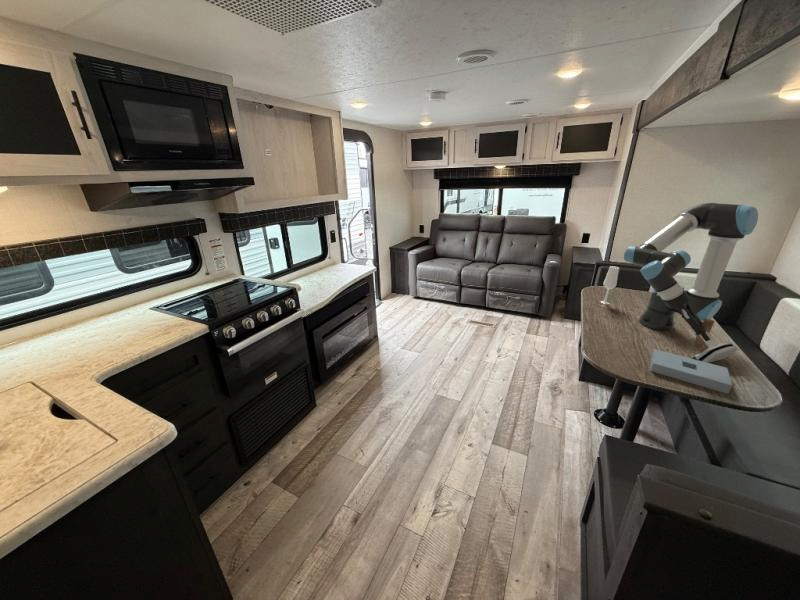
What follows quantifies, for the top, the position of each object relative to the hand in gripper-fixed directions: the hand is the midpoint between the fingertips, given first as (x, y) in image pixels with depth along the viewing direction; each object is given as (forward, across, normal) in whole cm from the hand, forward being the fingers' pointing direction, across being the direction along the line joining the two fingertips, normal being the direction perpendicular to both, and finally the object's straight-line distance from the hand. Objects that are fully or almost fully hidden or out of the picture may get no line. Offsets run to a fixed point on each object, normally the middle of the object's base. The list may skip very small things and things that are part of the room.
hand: (713, 344), depth 123 cm
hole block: (+9, 0, -14) cm, 16 cm away
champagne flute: (-18, -62, -40) cm, 76 cm away
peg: (0, 0, -5) cm, 5 cm away
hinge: (+16, -21, -7) cm, 27 cm away
